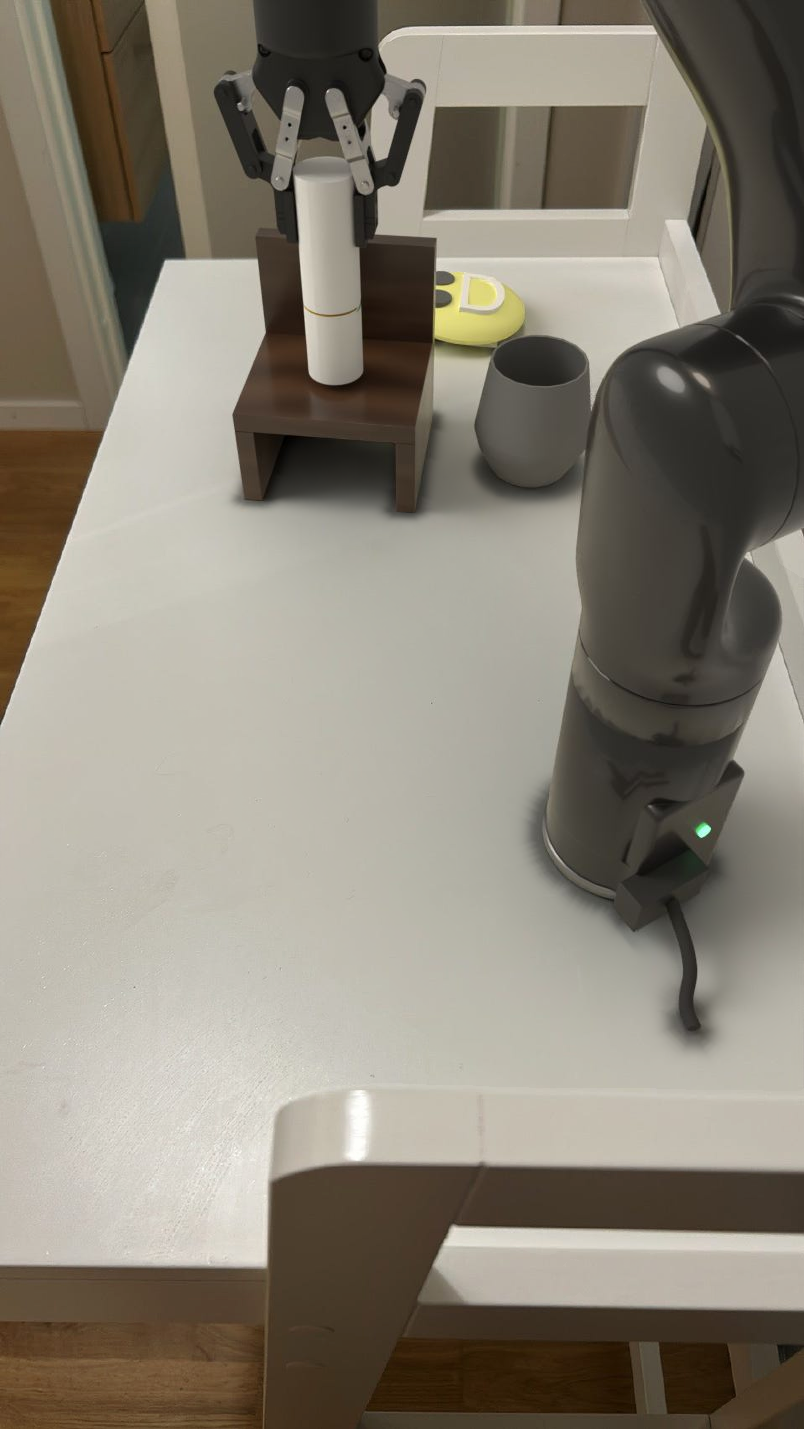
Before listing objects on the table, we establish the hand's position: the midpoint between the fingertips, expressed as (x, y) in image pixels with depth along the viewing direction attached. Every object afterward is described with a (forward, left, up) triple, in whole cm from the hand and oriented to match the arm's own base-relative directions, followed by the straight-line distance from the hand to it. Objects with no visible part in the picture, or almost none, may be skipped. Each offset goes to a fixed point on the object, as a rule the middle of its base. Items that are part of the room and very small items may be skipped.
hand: (328, 239), depth 74 cm
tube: (0, 0, -10) cm, 10 cm away
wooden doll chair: (0, 0, -19) cm, 19 cm away
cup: (-9, -13, -19) cm, 25 cm away
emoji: (+13, -21, -19) cm, 31 cm away
